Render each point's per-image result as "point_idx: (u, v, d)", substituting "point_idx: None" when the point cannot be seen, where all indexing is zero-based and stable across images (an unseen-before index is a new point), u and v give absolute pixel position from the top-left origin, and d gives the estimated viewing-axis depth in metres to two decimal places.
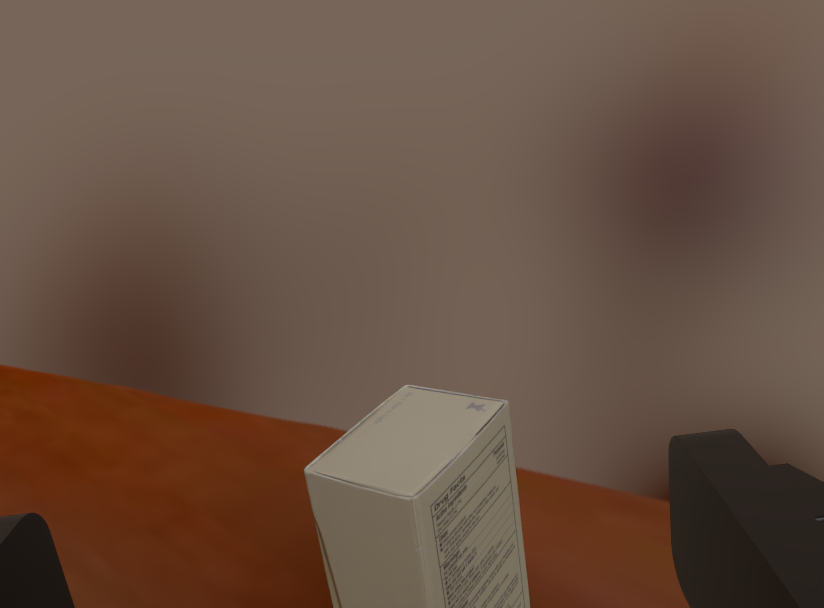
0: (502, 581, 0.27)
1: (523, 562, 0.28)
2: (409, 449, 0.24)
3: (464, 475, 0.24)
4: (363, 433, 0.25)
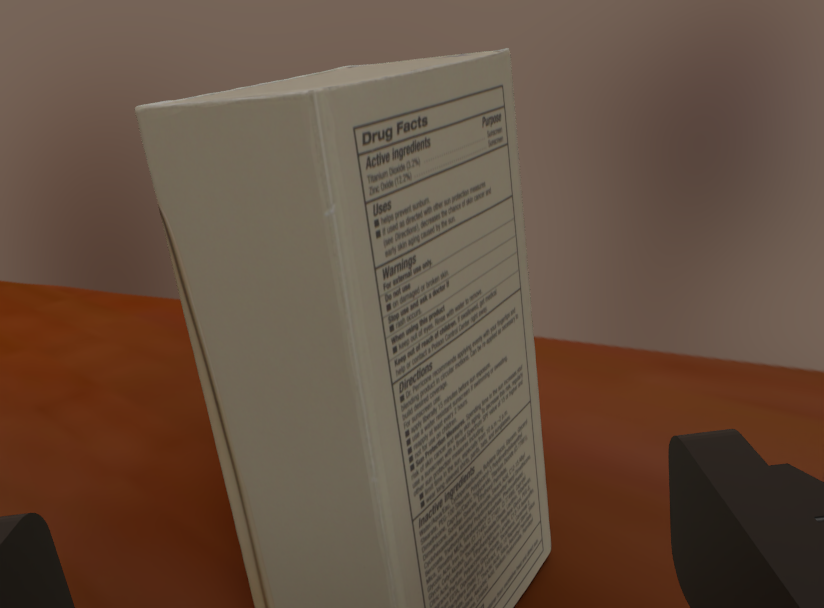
0: (496, 364, 0.16)
1: (532, 354, 0.17)
2: (328, 78, 0.13)
3: (426, 117, 0.13)
4: None
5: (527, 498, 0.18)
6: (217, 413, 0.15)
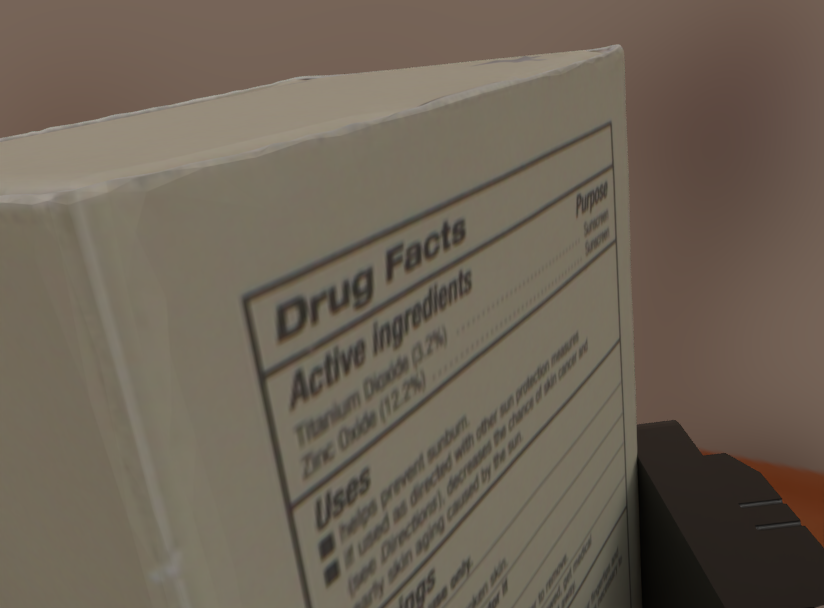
0: None
1: None
2: (216, 116, 0.05)
3: (464, 221, 0.05)
4: (87, 125, 0.07)
5: None
6: None
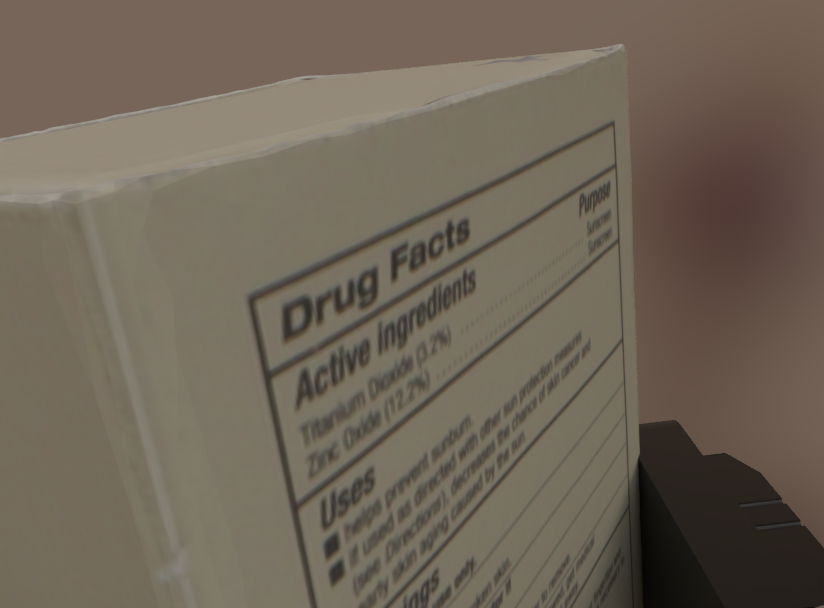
0: None
1: None
2: (221, 116, 0.05)
3: (468, 221, 0.05)
4: (90, 125, 0.07)
5: None
6: None
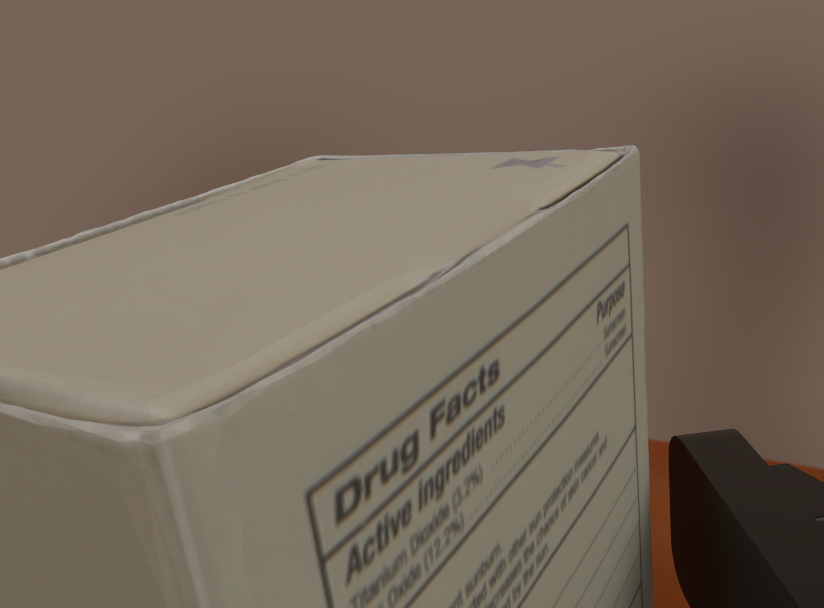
0: None
1: None
2: (255, 254, 0.06)
3: (498, 361, 0.05)
4: (118, 235, 0.07)
5: None
6: None
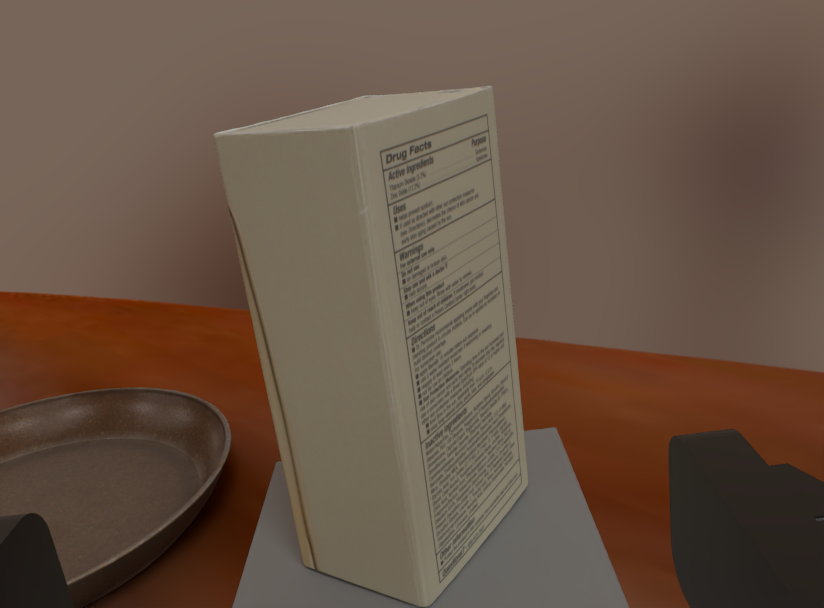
0: (483, 329, 0.20)
1: (511, 323, 0.22)
2: (357, 112, 0.18)
3: (431, 142, 0.18)
4: (299, 115, 0.19)
5: (508, 438, 0.22)
6: (270, 366, 0.19)
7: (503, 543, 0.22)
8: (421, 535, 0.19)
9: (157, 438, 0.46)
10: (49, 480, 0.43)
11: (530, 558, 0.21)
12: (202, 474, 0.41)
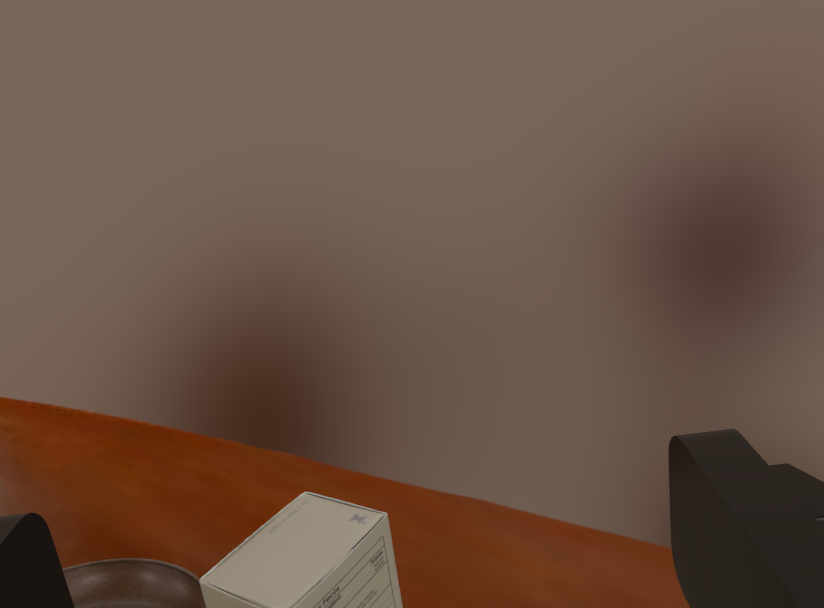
0: None
1: None
2: (292, 563, 0.28)
3: (338, 586, 0.27)
4: (257, 543, 0.29)
5: None
6: None
7: None
8: None
9: (160, 605, 0.55)
10: None
11: None
12: None
